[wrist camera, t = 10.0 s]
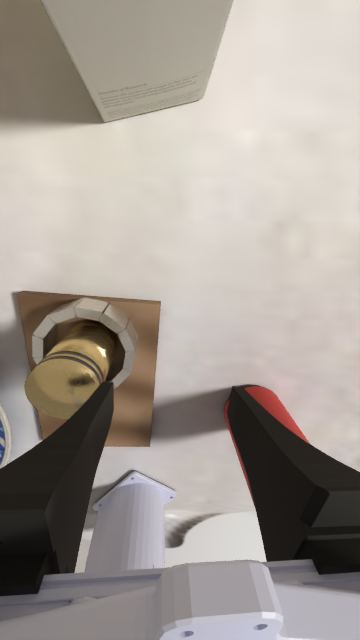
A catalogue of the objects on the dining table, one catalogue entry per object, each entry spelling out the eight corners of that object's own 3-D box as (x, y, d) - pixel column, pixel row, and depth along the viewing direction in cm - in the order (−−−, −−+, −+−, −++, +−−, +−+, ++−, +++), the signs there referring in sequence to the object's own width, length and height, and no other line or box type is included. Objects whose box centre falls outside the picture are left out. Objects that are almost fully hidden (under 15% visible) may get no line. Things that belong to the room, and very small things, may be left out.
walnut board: (150, 439, 27) (149, 446, 26) (48, 438, 26) (44, 446, 25) (160, 301, 21) (160, 304, 20) (23, 290, 19) (16, 294, 18)
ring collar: (103, 389, 23) (97, 407, 20) (29, 344, 20) (13, 359, 18) (154, 336, 21) (153, 349, 19) (80, 279, 18) (68, 286, 16)
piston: (99, 369, 22) (73, 428, 15) (58, 343, 20) (10, 396, 14) (128, 338, 21) (113, 388, 14) (86, 308, 19) (49, 348, 13)
